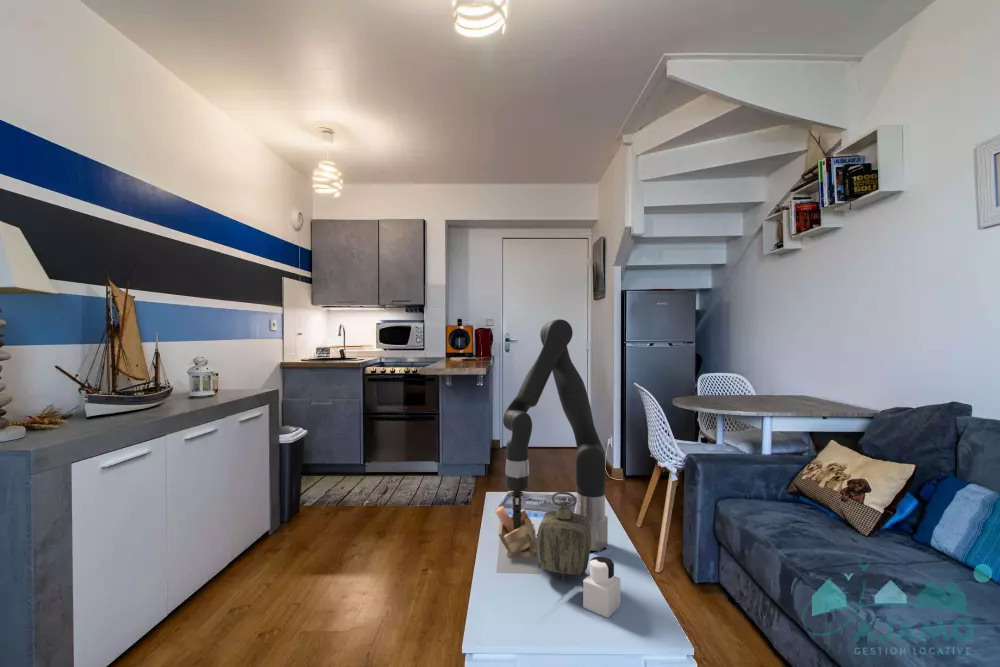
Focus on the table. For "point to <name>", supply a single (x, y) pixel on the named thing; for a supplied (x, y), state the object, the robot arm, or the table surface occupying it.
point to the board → (516, 562)
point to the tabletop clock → (564, 540)
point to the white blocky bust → (601, 587)
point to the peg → (505, 519)
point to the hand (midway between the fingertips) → (517, 522)
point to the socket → (520, 538)
